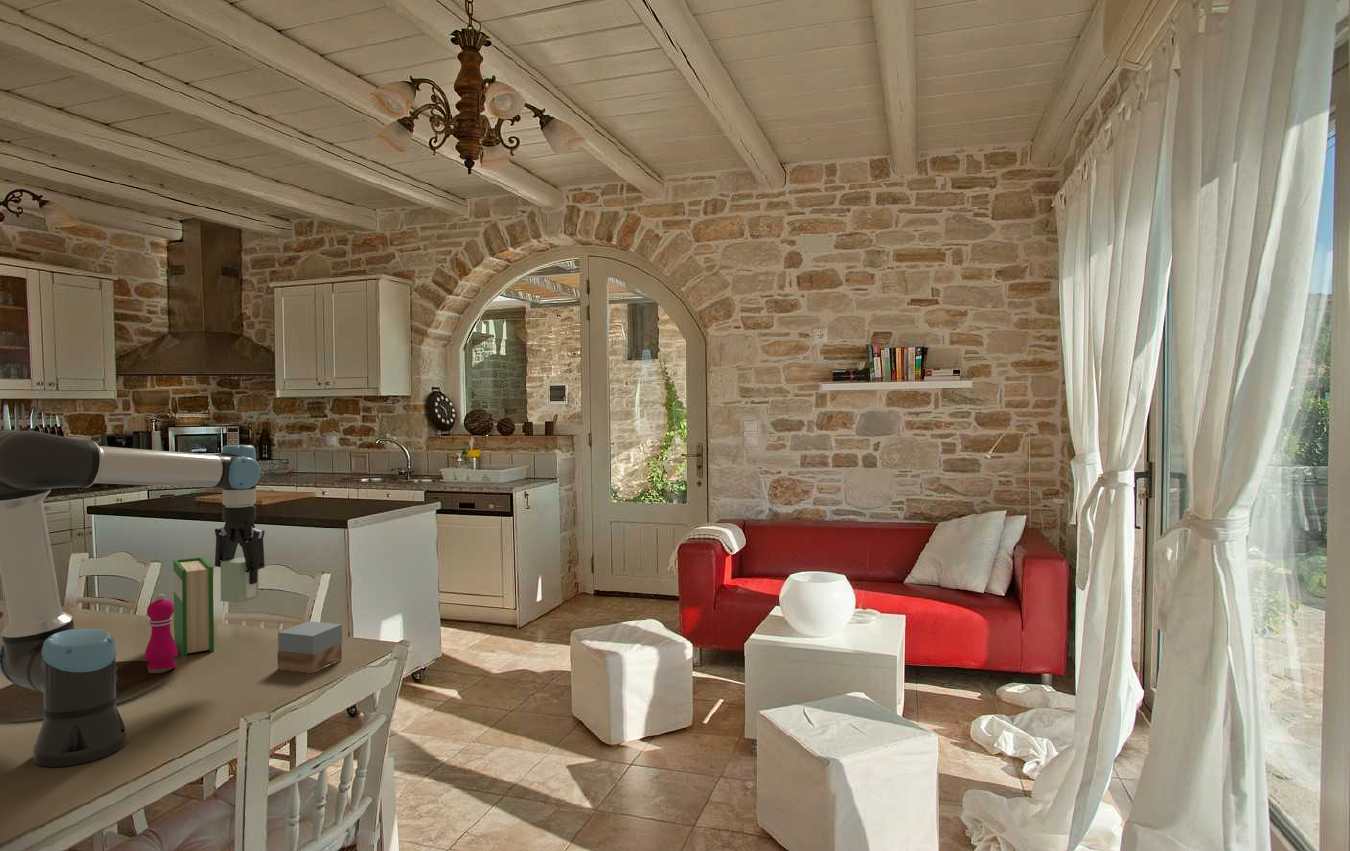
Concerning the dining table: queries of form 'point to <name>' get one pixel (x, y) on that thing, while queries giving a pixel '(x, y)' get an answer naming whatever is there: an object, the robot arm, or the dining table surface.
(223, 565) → the sage block
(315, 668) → the tower bottom block
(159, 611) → the pepper mill
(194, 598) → the hardback book
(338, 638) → the tower top block
